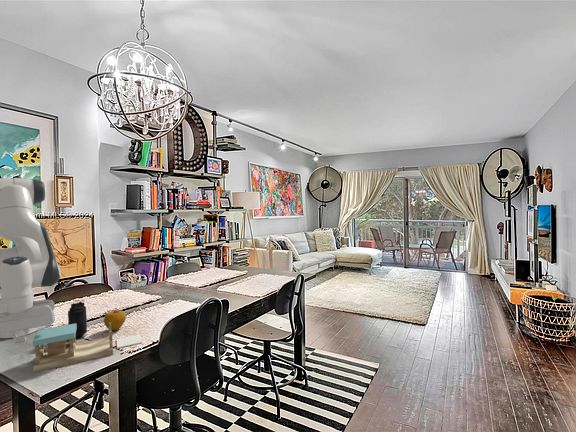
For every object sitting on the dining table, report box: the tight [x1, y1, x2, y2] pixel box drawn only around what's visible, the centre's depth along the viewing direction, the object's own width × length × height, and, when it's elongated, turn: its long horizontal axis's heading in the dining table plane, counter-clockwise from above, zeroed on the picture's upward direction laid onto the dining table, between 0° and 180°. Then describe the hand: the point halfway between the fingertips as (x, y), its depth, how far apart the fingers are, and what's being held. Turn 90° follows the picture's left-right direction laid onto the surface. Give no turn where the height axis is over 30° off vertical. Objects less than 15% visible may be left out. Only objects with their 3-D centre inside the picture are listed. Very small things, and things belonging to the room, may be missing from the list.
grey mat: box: [116, 334, 143, 350], centre depth 133 cm, size 9×9×1 cm
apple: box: [103, 309, 127, 331], centre depth 146 cm, size 9×9×9 cm
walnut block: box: [46, 340, 67, 357], centre depth 119 cm, size 5×5×6 cm
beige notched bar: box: [33, 323, 114, 373], centre depth 122 cm, size 14×24×8 cm, turn 120°
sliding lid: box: [32, 323, 77, 347], centre depth 119 cm, size 11×12×2 cm
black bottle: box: [67, 301, 88, 339], centre depth 140 cm, size 7×7×15 cm
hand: (20, 342), depth 114 cm, fingers closed
